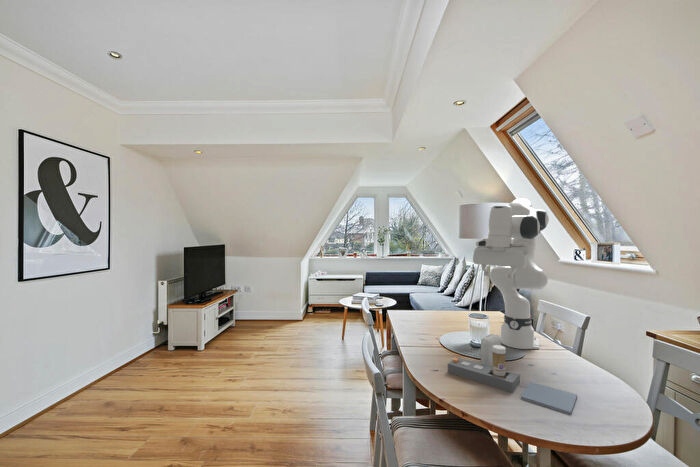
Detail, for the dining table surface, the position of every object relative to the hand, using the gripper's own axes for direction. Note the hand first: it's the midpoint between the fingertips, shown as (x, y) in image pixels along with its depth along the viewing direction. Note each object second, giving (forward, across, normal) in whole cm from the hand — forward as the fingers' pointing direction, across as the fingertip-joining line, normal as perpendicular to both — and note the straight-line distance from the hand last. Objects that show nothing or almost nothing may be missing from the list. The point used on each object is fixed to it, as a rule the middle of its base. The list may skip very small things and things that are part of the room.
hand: (497, 276), depth 129 cm
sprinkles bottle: (+39, -5, +9) cm, 40 cm away
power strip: (+39, +1, +9) cm, 40 cm away
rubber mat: (+39, -21, +9) cm, 45 cm away
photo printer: (+38, +3, -7) cm, 38 cm away
